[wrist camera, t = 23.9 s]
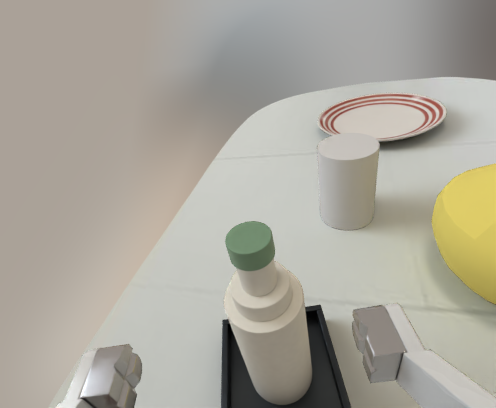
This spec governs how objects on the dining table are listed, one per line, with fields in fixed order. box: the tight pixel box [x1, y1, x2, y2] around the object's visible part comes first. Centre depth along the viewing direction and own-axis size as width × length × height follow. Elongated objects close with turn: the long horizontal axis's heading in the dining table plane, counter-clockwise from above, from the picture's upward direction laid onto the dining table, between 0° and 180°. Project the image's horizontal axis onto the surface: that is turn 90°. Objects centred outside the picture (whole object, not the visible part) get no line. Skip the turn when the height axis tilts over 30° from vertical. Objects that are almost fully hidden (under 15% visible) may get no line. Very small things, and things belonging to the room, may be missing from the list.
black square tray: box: [221, 305, 351, 408], centre depth 29 cm, size 11×11×3 cm
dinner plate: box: [317, 93, 447, 142], centre depth 70 cm, size 28×27×3 cm
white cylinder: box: [317, 133, 379, 230], centre depth 44 cm, size 8×8×12 cm
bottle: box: [224, 221, 312, 405], centre depth 24 cm, size 6×6×18 cm
